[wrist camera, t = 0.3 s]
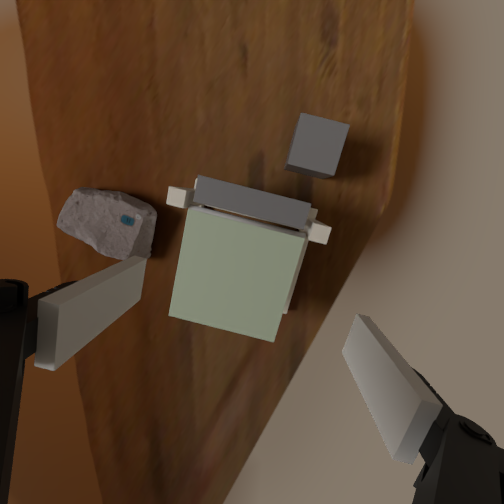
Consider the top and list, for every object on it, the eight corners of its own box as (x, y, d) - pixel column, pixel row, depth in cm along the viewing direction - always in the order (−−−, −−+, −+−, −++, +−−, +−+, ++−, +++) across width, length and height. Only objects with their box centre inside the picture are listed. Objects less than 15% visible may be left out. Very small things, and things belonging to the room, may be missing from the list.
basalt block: (294, 127, 37) (301, 112, 30) (334, 137, 37) (349, 124, 30) (283, 169, 38) (287, 163, 32) (322, 179, 38) (334, 175, 32)
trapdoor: (200, 175, 31) (193, 173, 28) (311, 203, 31) (315, 204, 28) (175, 306, 35) (167, 316, 32) (273, 332, 35) (273, 343, 32)
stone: (169, 210, 41) (152, 212, 35) (150, 262, 43) (131, 272, 37) (93, 175, 41) (64, 172, 35) (78, 229, 43) (48, 234, 37)
